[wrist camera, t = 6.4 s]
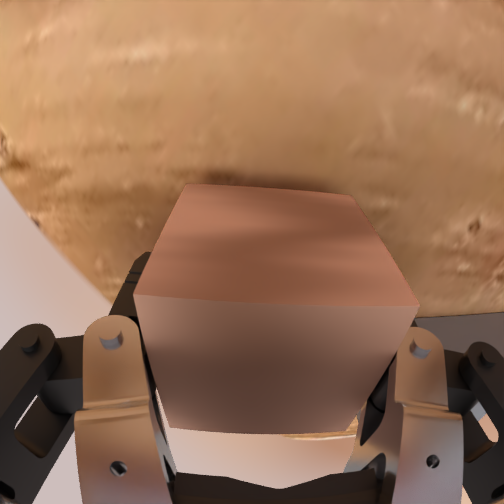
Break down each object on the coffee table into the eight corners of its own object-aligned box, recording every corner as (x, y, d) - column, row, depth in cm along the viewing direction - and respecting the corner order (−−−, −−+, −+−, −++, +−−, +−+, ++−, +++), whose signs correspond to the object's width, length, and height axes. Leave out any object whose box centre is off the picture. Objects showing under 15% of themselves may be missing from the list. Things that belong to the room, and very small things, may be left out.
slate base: (514, 311, 16) (541, 350, 13) (454, 394, 21) (468, 430, 18) (408, 318, 16) (435, 374, 12) (355, 410, 21) (365, 455, 18)
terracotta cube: (351, 195, 9) (419, 306, 5) (321, 315, 12) (345, 431, 8) (186, 183, 9) (132, 294, 5) (191, 309, 12) (169, 427, 8)
